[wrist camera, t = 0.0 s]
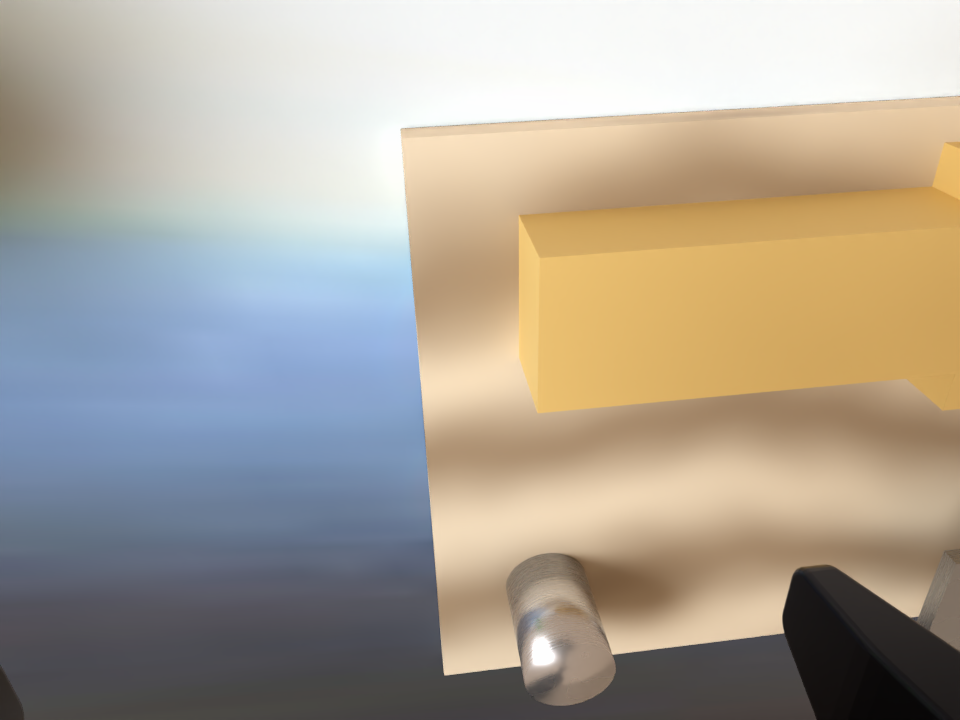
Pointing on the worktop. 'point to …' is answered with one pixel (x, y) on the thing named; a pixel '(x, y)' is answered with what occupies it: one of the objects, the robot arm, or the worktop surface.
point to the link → (743, 296)
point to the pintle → (558, 630)
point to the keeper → (944, 600)
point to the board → (670, 424)
